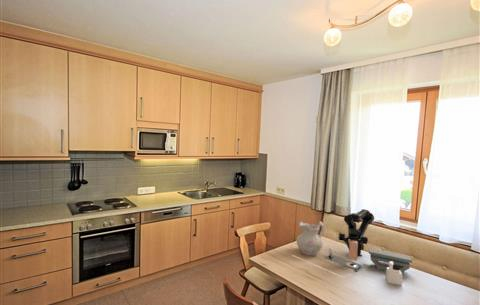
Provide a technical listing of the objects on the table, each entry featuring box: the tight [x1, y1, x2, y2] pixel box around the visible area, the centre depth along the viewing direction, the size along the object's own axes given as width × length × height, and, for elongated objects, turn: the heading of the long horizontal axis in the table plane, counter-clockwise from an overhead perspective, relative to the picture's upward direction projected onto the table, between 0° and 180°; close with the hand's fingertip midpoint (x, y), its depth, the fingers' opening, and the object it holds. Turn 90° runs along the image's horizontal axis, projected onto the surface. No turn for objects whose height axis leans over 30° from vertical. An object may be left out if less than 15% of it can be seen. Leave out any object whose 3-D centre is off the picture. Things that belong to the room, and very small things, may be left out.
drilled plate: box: [325, 254, 364, 273], centre depth 176 cm, size 11×23×1 cm, turn 42°
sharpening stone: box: [368, 247, 413, 274], centre depth 170 cm, size 25×8×11 cm, turn 63°
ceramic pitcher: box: [296, 220, 325, 256], centre depth 191 cm, size 22×20×25 cm
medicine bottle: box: [385, 261, 403, 286], centre depth 154 cm, size 7×7×12 cm
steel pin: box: [328, 248, 334, 257], centre depth 184 cm, size 2×2×6 cm
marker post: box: [347, 239, 358, 261], centre depth 172 cm, size 5×5×12 cm
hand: (353, 250), depth 171 cm, fingers closed on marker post, 5 cm apart
